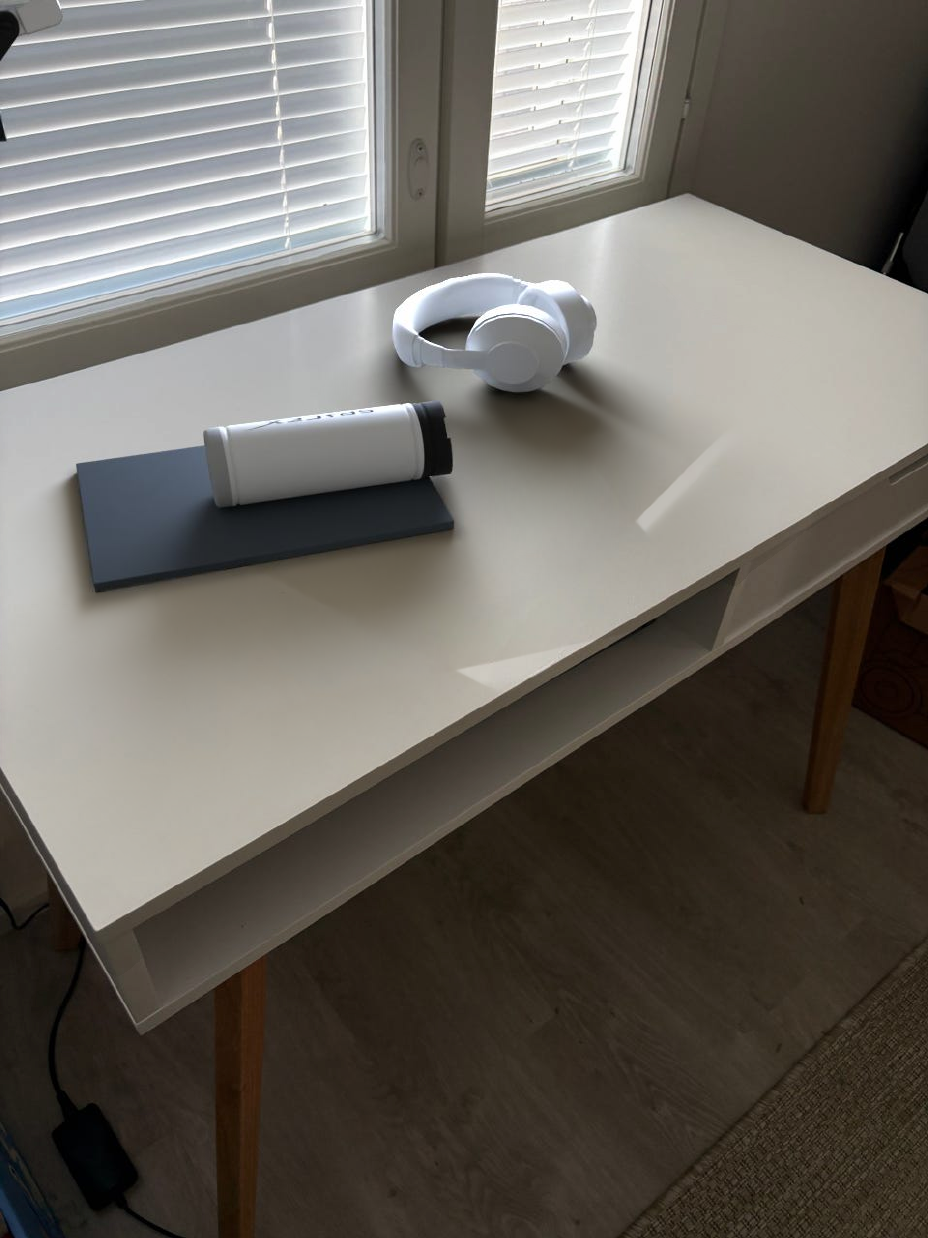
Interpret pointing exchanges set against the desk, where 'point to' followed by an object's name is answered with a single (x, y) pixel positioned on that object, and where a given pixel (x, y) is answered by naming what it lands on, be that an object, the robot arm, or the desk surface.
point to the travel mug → (326, 452)
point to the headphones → (500, 328)
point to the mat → (228, 519)
